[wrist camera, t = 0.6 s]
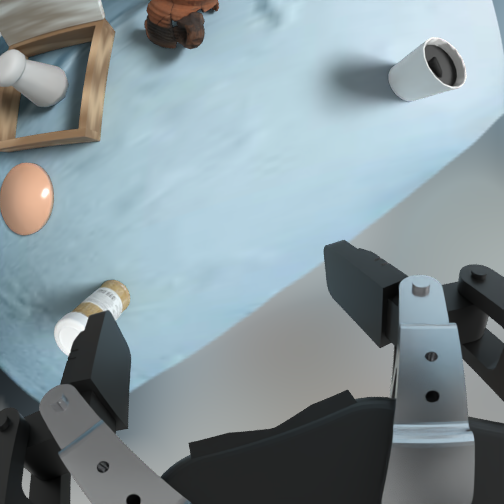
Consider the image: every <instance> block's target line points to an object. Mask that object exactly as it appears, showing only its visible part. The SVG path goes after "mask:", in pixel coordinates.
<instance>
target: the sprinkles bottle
mask: <svg viewBox="0 0 504 504" xmlns="http://www.w3.org/2000/svg"><path fill="white" fill-rule="evenodd" d="M129 303H130V294H129V291H128V290H127V288H126V286H124V285H123V284H122V283H120V282H119V281H116V280H109V281H106V282H104V283H103V284H102V286H101V287H100V288H99V289H97V290H96V291H95V292H93V293H92V294H91V295H90V296H89V297H87V298H86V299H85V300H84V301H83V302H82V303H81V304H80V305H78V306H77V307H76V308H75V309H74V310H73V311H72V312H70V313H67V314H66V315H65V316H63V317H62V318H61V319H60V320H59V321H58V322H57V324H56V326H55V329H54V337H55V340H56V343H57V345H58V346H59V348H60V349H61V350H62V352H64V353H65V354H66V355H67V356H69V353H71V351H70V350H71V347H72V344H73V341H74V340H75V338H76V337H77V336H78V335H79V333H80V332H81V331H84V330H85V326H86V323H87V320H88V317H89V315H92V314H95V313H99V312H102V311H106V310H109V311H110V312H111V313H112V315H113V317H114V319H115V321H116V320H117V319H118V317H119V316H120V315H121V313H122V312H123V311H124V310H125V309H126V308H127V307H128V305H129Z"/></svg>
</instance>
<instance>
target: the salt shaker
mask: <svg viewBox="0 0 504 504" xmlns="http://www.w3.org/2000/svg"><path fill="white" fill-rule="evenodd" d="M0 86H1V87H9V86H13V87H14V88H15V89H16V90H18V91H19V92H20V93H22V94H23V95H24V96H25V97H27V98H28V99H29V100H30V101H32V102H33V103H34V104H36V105H37V106H38V107H49V106H52V105H55V104H57V103H58V102H59V101H61V100H62V99H63V98H65V96H66V92H67V89H68V86H69V84H68V80H67V77H66V74H65V72H64V71H63V70H62V69H60V68H59V67H57V66H53V65H49V64H45V63H40V62H36V61H31V60H26V58H25V55H24V54H22V53H21V52H20V51H18V50H15V49H12V50H8V51H6V52H5V53H3V54H2V55H1V56H0Z"/></svg>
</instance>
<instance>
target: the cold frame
mask: <svg viewBox="0 0 504 504" xmlns="http://www.w3.org/2000/svg"><path fill="white" fill-rule="evenodd" d="M104 17H105V13H104V10H103V6H102V3H101V0H0V32H1V34H2V36H3V38H4V39H5V41H6V43H7V44H8V46H9V49H8V50H12V49H15V50H18V51H20V52H21V53H22V54H24V55H25V58H26V60H28V57H31V56H34V55H38V54H41V53H45V52H48V51H52V50H56V49H60V48H64V47H68V46H72V45H77V44H82V43H86V42H91V41H92V44H91V48H90V53H89V58H88V63H87V69H86V75H85V81H84V87H83V94H82V102H81V110H80V119H79V129H72V130H64V131H57V132H50V133H43V134H37V135H31V136H26V137H20V138H15V135H16V126H17V117H18V110H19V103H20V97H21V93H20V92H19V91H18V90H16V89H15V88H14V87H13V86H9V87H1V86H0V151H2V152H14V151H20V150H26V149H33V148H40V147H47V146H55V145H64V144H73V143H83V142H94V141H100V135H101V124H102V113H103V104H104V96H105V88H106V81H107V75H108V68H109V62H110V57H111V51H112V46H113V41H114V36H115V31H114V29H113V28H112V27H111V25H110V24H109V23H108V22H107V20H106V19H105V18H104Z"/></svg>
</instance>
